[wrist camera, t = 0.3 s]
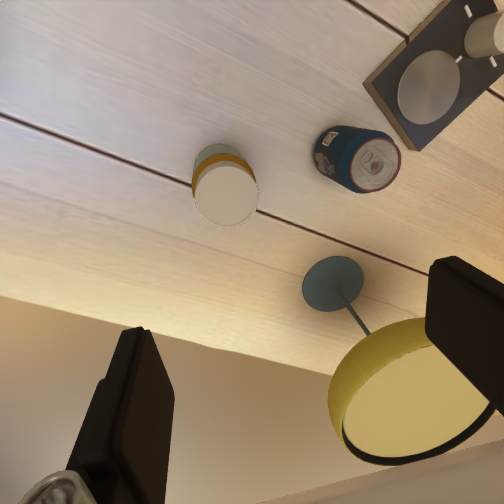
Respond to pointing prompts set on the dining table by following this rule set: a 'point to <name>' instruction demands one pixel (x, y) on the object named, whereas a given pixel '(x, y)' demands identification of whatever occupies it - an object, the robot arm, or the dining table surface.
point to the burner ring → (428, 87)
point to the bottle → (224, 187)
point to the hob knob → (486, 36)
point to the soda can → (358, 158)
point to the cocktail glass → (393, 382)
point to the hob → (442, 39)
